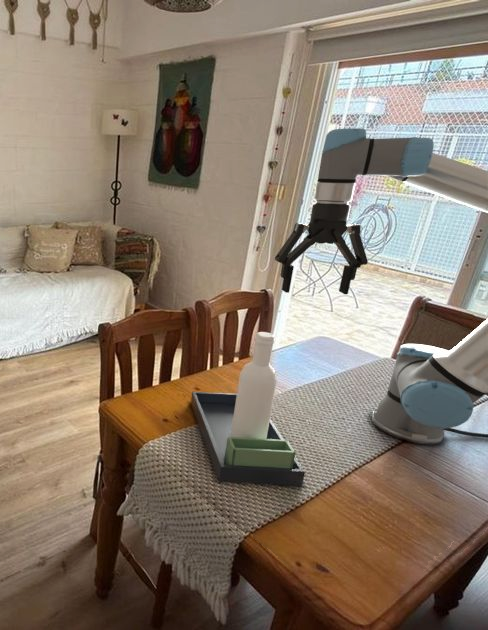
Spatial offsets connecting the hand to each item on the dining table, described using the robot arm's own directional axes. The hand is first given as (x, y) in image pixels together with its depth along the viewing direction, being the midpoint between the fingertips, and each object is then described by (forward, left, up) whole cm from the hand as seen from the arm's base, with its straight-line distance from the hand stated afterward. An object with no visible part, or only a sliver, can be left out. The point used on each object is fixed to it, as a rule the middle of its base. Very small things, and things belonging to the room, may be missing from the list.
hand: (314, 292), depth 107 cm
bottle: (+18, +12, -36) cm, 42 cm away
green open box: (+19, +19, -36) cm, 45 cm away
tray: (+17, +6, -37) cm, 41 cm away
